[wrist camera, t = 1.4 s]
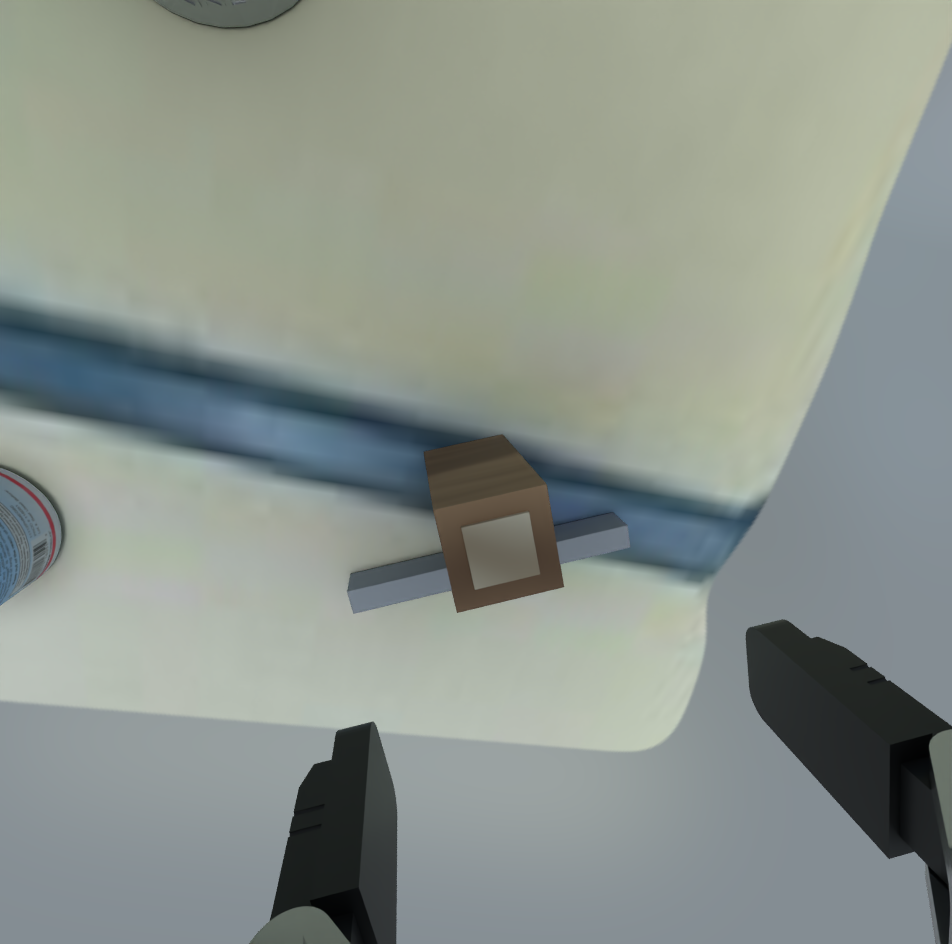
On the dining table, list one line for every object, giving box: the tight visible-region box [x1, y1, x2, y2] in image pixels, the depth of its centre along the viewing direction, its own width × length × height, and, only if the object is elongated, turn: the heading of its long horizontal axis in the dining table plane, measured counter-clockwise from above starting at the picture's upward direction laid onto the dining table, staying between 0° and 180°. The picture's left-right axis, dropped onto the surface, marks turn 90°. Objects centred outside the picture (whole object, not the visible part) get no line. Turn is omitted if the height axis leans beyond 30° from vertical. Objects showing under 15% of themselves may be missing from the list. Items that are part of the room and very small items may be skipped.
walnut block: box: [424, 434, 564, 613], centre depth 24 cm, size 4×4×9 cm
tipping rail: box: [347, 512, 630, 614], centre depth 29 cm, size 1×14×2 cm, turn 101°
